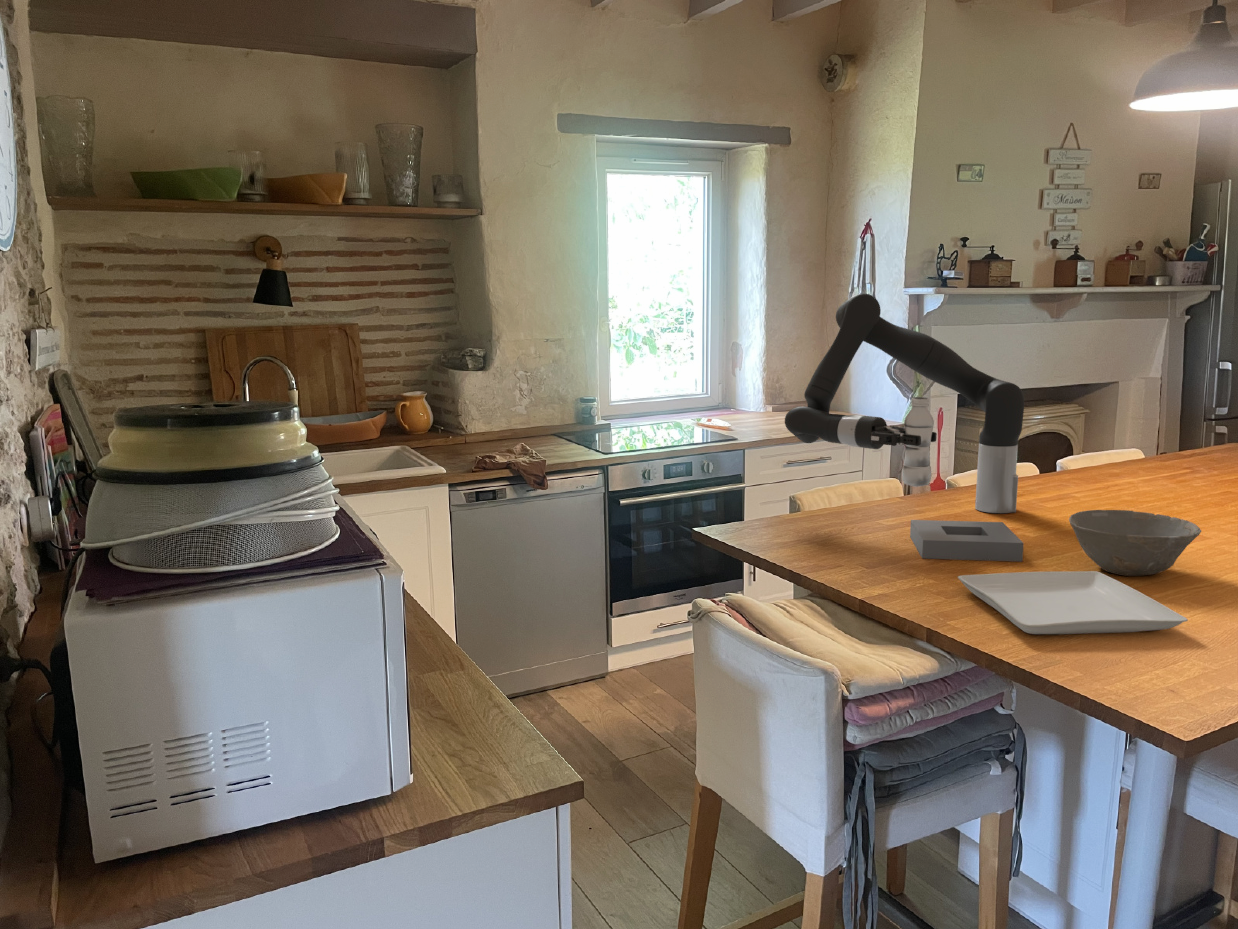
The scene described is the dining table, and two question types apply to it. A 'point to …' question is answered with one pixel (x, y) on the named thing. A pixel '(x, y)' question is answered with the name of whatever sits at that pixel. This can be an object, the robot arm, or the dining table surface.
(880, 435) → the robot arm
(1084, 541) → the ceramic bowl
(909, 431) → the plastic bottle
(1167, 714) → the dining table surface
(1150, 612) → the square plate
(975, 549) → the socket block
